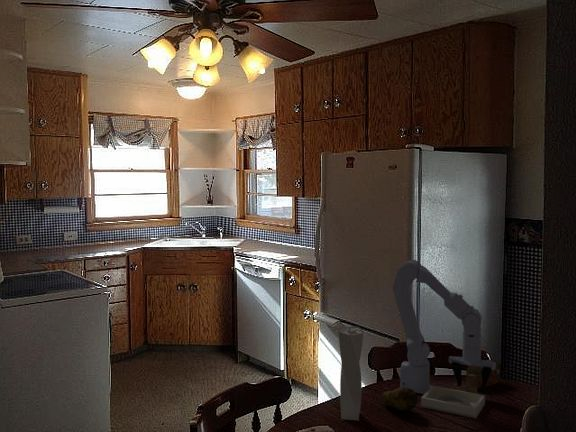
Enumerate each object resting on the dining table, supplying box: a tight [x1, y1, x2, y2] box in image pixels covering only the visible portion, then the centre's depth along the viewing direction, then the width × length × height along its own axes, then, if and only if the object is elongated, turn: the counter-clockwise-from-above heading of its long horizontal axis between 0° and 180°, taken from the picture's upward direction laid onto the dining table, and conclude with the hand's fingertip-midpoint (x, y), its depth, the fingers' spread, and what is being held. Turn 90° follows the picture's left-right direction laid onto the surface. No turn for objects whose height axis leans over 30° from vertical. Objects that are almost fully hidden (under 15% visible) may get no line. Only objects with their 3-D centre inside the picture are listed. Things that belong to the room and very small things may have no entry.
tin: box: [465, 359, 502, 389], centre depth 187 cm, size 15×3×8 cm, turn 118°
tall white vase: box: [338, 325, 364, 422], centre depth 160 cm, size 8×8×28 cm
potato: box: [381, 387, 419, 411], centre depth 164 cm, size 8×13×8 cm, turn 13°
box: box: [420, 385, 486, 420], centre depth 168 cm, size 17×13×3 cm
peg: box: [465, 374, 478, 394], centre depth 176 cm, size 4×4×7 cm
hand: (471, 387), depth 176 cm, fingers open, 7 cm apart
